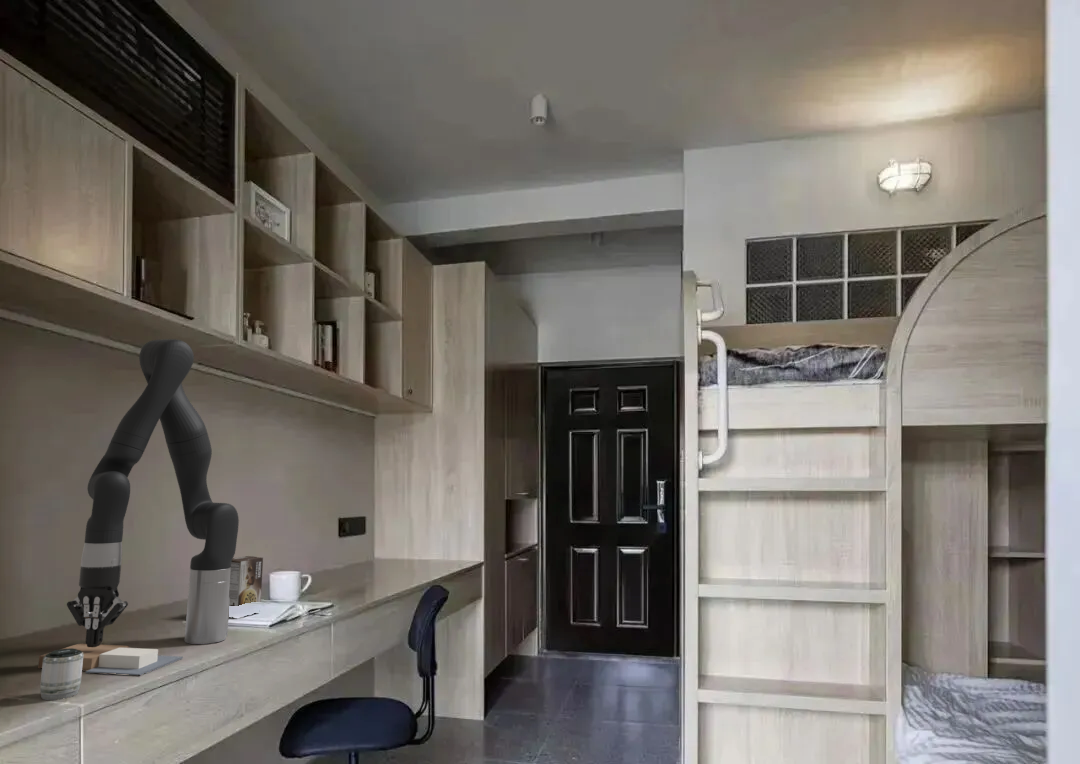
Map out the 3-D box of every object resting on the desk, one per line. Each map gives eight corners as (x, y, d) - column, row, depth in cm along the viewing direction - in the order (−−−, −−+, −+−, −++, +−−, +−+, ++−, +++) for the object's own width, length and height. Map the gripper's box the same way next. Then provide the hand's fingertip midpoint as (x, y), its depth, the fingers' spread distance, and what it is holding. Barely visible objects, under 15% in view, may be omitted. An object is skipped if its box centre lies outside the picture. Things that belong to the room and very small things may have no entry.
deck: (78, 655, 158) (79, 643, 158) (128, 657, 156) (129, 645, 156) (38, 668, 147) (39, 655, 147) (90, 671, 145) (92, 658, 146)
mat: (132, 655, 158) (132, 654, 158) (182, 658, 156) (182, 656, 156) (85, 673, 144) (85, 671, 144) (139, 676, 142) (139, 674, 142)
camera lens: (33, 695, 129) (38, 651, 130) (72, 688, 134) (76, 645, 135) (46, 703, 125) (50, 657, 126) (85, 694, 130) (89, 650, 131)
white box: (118, 659, 153) (119, 647, 153) (157, 661, 152) (158, 649, 152) (98, 666, 147) (99, 654, 148) (138, 668, 146) (139, 656, 147)
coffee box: (243, 611, 209) (247, 555, 211) (260, 613, 207) (264, 556, 209) (219, 617, 200) (223, 558, 203) (237, 619, 198) (241, 560, 200)
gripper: (141, 562, 157) (134, 643, 154) (85, 560, 158) (77, 641, 156) (118, 566, 149) (110, 652, 147) (59, 564, 151) (51, 649, 148)
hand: (93, 646), depth 151 cm, fingers closed
